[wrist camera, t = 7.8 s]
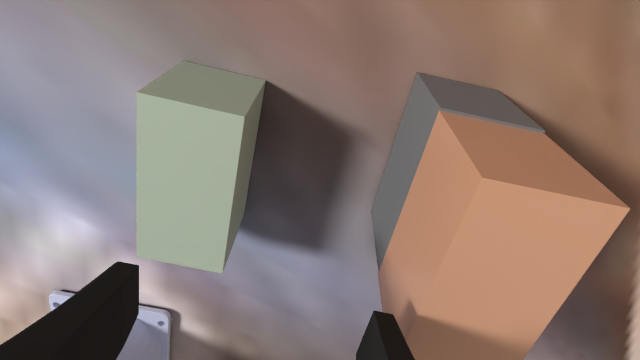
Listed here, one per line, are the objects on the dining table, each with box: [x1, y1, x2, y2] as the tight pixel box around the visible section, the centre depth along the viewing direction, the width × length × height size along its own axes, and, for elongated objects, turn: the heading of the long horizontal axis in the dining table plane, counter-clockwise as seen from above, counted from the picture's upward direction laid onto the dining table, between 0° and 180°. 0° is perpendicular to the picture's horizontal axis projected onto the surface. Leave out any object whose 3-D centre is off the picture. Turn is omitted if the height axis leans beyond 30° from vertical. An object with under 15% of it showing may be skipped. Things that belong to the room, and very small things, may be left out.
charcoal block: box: [371, 72, 545, 271], centre depth 19 cm, size 8×4×5 cm, turn 168°
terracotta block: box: [378, 110, 630, 360], centre depth 14 cm, size 8×4×5 cm, turn 168°
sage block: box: [137, 61, 266, 273], centre depth 19 cm, size 8×4×5 cm, turn 167°
